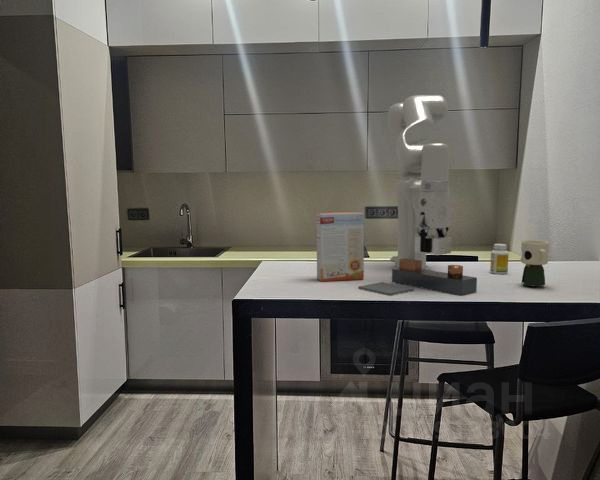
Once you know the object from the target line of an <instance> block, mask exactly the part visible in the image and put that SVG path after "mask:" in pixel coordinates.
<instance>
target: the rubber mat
mask: <svg viewBox="0 0 600 480" xmlns="http://www.w3.org/2000/svg"><path fill="white" fill-rule="evenodd" d="M358 288H359V290H362V289H364V290H363V291H367V290H369V291H368V292H372V291H373V292H372V293H376V292H377V293H376V294H381V293H382V295H385V294H386V296H390V295H391V296H394V294H396V295H399V294H398V293H401V294H404V293H403V292H405V293H408V291H410V292H414V291H415V287H414V288H413V287H410V286H404V285H399V284H395V283H394V284H393V283H389V282H383V281H382V282H375V283H371V284H365V285H360V286H358V287H357V289H358ZM413 290H414V291H413Z"/></svg>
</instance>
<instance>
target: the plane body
mask: <svg viewBox="0 0 600 480" xmlns="http://www.w3.org/2000/svg"><path fill="white" fill-rule="evenodd" d="M463 272H464V266H463V265H462V264H461V265H460V264H448V265H447V272H441V271H436V270H431V269H430V270H425V269H422V260H415V259H408V258H404V259H399V268H397V269H393V268H392V271H391V283H393V282H395V283H394V284H398V283H400V285H404V284H406V285H405V286H409V285H411V286H410V287H414V286H417V287H416V288H419V287H423V288H422V289H425V288H427V289H426V290H430V289H432V290H431V291H435V290H436V291H437V292H440V291H441V293H446V294H451V295H456V296H465V295H470V294H474V293H476V292H477V290H478V289H477V287H478V285H477V283H478V278H477V277H475V276H471V275H470V276H469V275H464V273H463Z"/></svg>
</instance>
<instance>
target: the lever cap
mask: <svg viewBox="0 0 600 480" xmlns="http://www.w3.org/2000/svg"><path fill="white" fill-rule="evenodd" d="M429 238H430V239H431V252H430V253H426V252H421V251H420V238H419V236H416V237H415V252H418V253H425V254H426V255H428V254H429V255H433V256H440V255H448V254H451V253H452V237H450V236H446V237H442V236H438V234H436V233H430V237H429Z"/></svg>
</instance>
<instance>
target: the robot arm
mask: <svg viewBox="0 0 600 480" xmlns="http://www.w3.org/2000/svg"><path fill="white" fill-rule="evenodd" d="M448 112H449V105H448V101H447V100H446V98H445V97H444V96H442V95H440V94H417V95H416V94H415V95H410V96H407V98H406V99H405V100H404V101H403V102H397V103H394V104H392V105H391V106H390V107H389V109H388V111H387V124H388V129H389V132H390V136H391V137H392V139H393V141H394V144H395V152H396V161H397V162H396V163H397V169H398V173H399V176H401V177H402V178H403V179H401V180H399V181H398V182H397V184H396V186H395V187H396V188H395V195H396V203H397V216H398V217H397V218H398V220H397V255H396V256H394V255H393V256H391V257H390V259H389V261H390V262H391V263H394V265H393V267H392V269H397V268H399V259H404V258H408V259H415V260H422V269H425V270H431V267H430V266H428V265H427V254H425V253H418V252H415V237H416V236H419V238H420V251H421V252H426V253H430V252H431V239H430V238H429V237H430V234H432V229H433V230H434V231H435V234H438V236H442V237H448V231H449V228H450V227H451V225H452V207H451V206H452V203H451V197H450V185H449V180H450V179H449V178H450V177H449V175H450V173H449V172H450V171H449V169H450V147H449V144H447V143H441V142H439V143H438V142H436V143H435V142H434V143H433V142H431V143H425V144H421V142H423V141H426V140H427V139H429V138H430V137H431V136H432V135H433V134H434V131H435V127H436V126H437V125H439V124H441V123H442V122H444V121H445V120H446V118H447V116H448Z"/></svg>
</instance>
